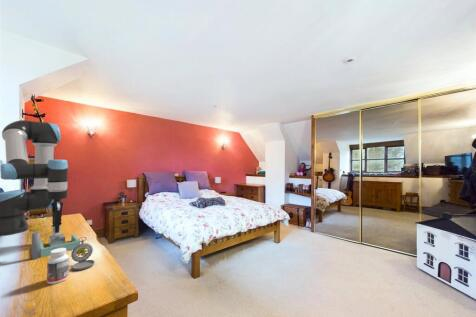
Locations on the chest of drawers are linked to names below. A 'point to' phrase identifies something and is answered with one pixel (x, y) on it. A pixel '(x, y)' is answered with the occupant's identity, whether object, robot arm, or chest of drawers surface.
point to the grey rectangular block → (56, 240)
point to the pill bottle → (57, 266)
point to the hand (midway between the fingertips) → (56, 238)
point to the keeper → (41, 251)
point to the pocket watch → (82, 260)
